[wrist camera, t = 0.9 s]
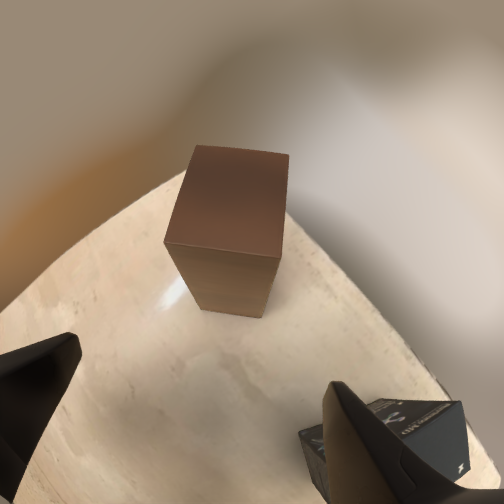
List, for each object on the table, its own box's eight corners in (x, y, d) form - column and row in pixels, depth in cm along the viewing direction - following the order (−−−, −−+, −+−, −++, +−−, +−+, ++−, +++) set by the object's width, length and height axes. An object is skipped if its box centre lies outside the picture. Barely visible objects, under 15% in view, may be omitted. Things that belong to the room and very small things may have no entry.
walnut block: (261, 318, 22) (281, 258, 11) (200, 309, 22) (162, 242, 11) (268, 252, 25) (289, 154, 14) (213, 244, 25) (196, 144, 14)
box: (381, 396, 19) (464, 397, 10) (393, 448, 17) (472, 471, 7) (295, 430, 18) (339, 471, 8) (311, 484, 16) (357, 544, 6)
